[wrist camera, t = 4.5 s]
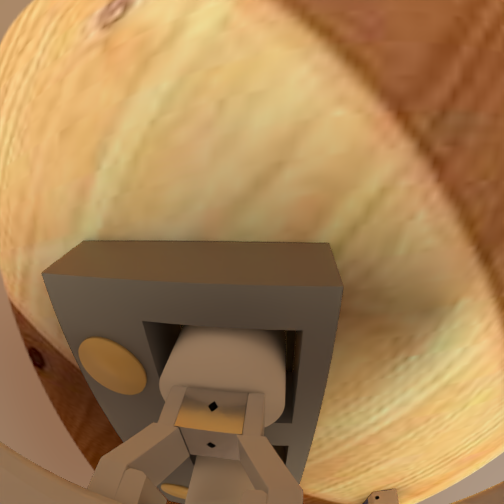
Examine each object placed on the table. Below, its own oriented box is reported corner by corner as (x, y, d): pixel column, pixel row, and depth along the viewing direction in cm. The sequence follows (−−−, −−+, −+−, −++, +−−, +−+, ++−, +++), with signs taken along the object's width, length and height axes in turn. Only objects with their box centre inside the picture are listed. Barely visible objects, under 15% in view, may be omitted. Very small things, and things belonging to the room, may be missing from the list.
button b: (276, 474, 14) (272, 523, 11) (204, 467, 14) (193, 515, 11) (279, 442, 12) (275, 504, 9) (192, 434, 12) (176, 492, 9)
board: (290, 485, 19) (288, 516, 17) (176, 473, 20) (168, 502, 18) (328, 243, 11) (344, 290, 8) (83, 240, 11) (38, 275, 9)
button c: (284, 373, 13) (281, 435, 10) (192, 367, 13) (173, 425, 10) (288, 295, 11) (288, 360, 8) (178, 291, 11) (146, 349, 8)
